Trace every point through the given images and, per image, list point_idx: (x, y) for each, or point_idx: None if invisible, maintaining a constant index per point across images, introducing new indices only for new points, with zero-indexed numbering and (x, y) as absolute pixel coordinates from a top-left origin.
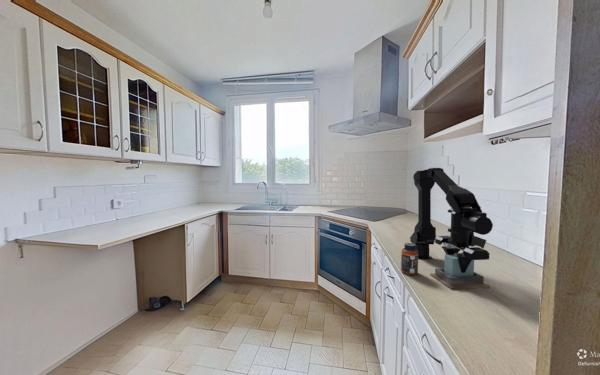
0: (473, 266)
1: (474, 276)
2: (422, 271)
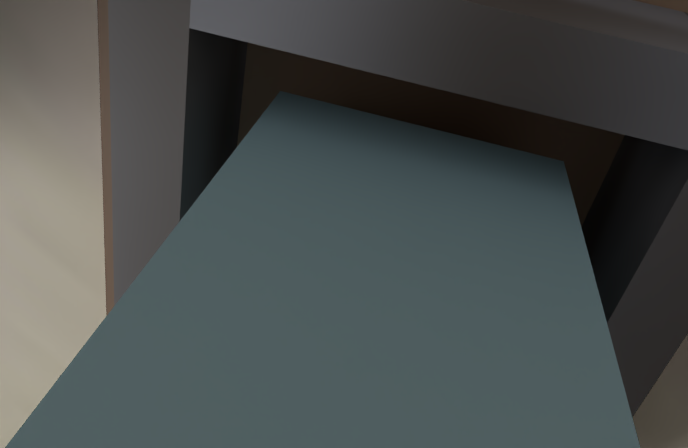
0: (612, 386)
1: (663, 298)
2: (2, 410)
